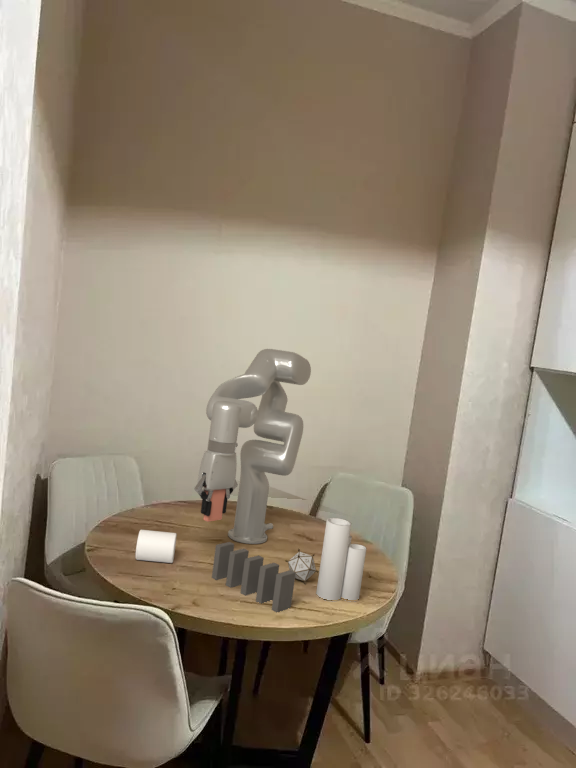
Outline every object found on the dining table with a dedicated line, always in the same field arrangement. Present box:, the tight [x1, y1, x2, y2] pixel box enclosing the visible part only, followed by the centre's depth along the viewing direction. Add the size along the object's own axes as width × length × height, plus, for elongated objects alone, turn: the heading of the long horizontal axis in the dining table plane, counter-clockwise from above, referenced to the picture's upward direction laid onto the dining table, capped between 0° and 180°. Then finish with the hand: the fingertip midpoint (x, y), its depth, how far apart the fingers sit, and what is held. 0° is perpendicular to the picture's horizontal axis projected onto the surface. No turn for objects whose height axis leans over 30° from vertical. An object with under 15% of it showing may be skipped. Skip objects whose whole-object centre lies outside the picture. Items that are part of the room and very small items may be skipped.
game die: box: [284, 547, 319, 585], centre depth 176 cm, size 9×8×10 cm
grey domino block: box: [271, 570, 296, 613], centre depth 157 cm, size 5×2×9 cm, turn 138°
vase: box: [315, 517, 367, 601], centre depth 169 cm, size 11×7×20 cm, turn 107°
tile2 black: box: [211, 541, 235, 581], centre depth 171 cm, size 5×2×9 cm, turn 138°
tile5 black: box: [255, 562, 280, 605], centre depth 160 cm, size 5×2×9 cm, turn 138°
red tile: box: [203, 489, 225, 522], centre depth 174 cm, size 5×2×9 cm, turn 138°
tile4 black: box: [239, 555, 264, 596], centre depth 164 cm, size 5×2×9 cm, turn 138°
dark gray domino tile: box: [225, 548, 250, 589], centre depth 167 cm, size 5×2×9 cm, turn 138°
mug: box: [134, 529, 177, 564], centre depth 179 cm, size 12×10×8 cm
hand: (213, 512), depth 174 cm, fingers closed on red tile, 4 cm apart
